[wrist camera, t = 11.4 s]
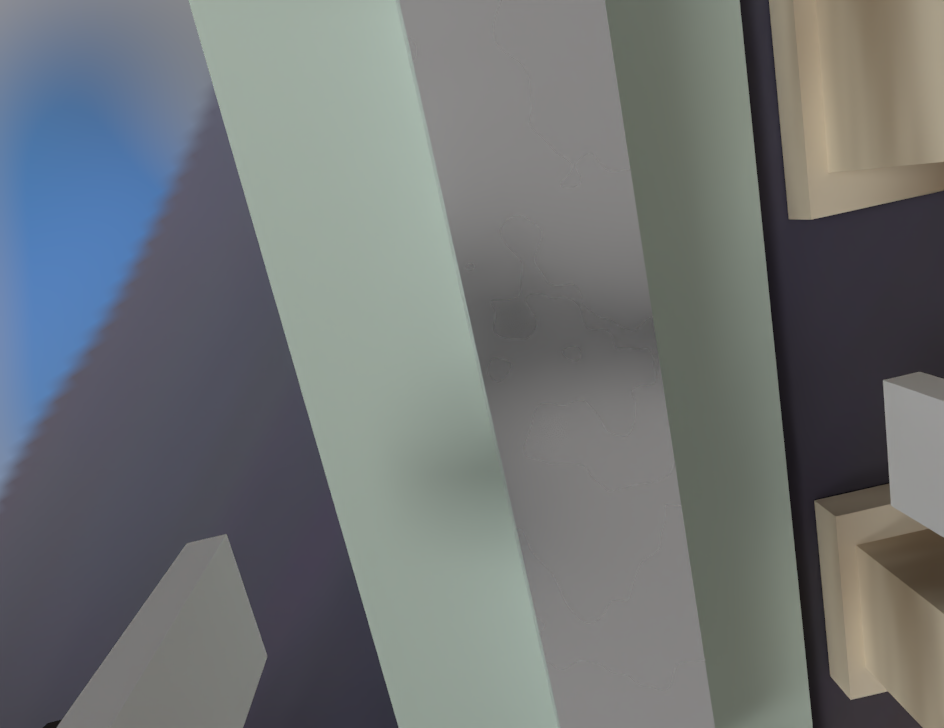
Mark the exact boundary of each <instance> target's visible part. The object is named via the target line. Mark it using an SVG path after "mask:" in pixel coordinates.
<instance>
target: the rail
mask: <svg viewBox="0 0 944 728" xmlns="http://www.w3.org/2000/svg"><path fill="white" fill-rule="evenodd" d="M395 2H396V6H397V11H398V15H399V20H400V24H401V29H402V33H403V38H404V42H405V47H406V51H407V55H408V60H409V64H410V69H411V73H412V78H413V82H414V87H415V91H416V96H417V100H418V105H419V109H420V114H421V118H422V123H423V127H424V132H425V136H426V141H427V145H428V150H429V154H430V159H431V163H432V167H433V172H434V176H435V181H436V185H437V190H438V194H439V199H440V203H441V208H442V212H443V217H444V221H445V226H446V230H447V235H448V239H449V244H450V248H451V253H452V257H453V262H454V266H455V271H456V275H457V279H458V284H459V288H460V293H461V297H462V302H463V306H464V311H465V315H466V320H467V324H468V329H469V333H470V338H471V342H472V347H473V351H474V356H475V360H476V365H477V369H478V374H479V378H480V383H481V387H482V391H483V396H484V400H485V405H486V409H487V414H488V418H489V423H490V427H491V432H492V436H493V441H494V445H495V450H496V454H497V459H498V463H499V468H500V472H501V477H502V481H503V486H504V490H505V495H506V499H507V503H508V508H509V512H510V517H511V521H512V526H513V530H514V535H515V539H516V544H517V548H518V553H519V557H520V562H521V566H522V571H523V575H524V580H525V584H526V589H527V593H528V598H529V602H530V607H531V611H532V615H533V620H534V624H535V629H536V633H537V638H538V642H539V647H540V651H541V656H542V660H543V665H544V669H545V674H546V678H547V683H548V687H549V692H550V696H551V701H552V705H553V710H554V714H555V719H556V723H557V727H558V728H715V724H714V718H713V711H712V704H711V698H710V691H709V685H708V678H707V671H706V665H705V658H704V652H703V645H702V638H701V632H700V625H699V619H698V612H697V605H696V599H695V592H694V586H693V579H692V572H691V566H690V559H689V553H688V546H687V539H686V533H685V526H684V520H683V513H682V506H681V500H680V493H679V487H678V480H677V473H676V467H675V460H674V454H673V447H672V440H671V434H670V427H669V421H668V414H667V407H666V401H665V394H664V388H663V381H662V374H661V368H660V361H659V355H658V348H657V341H656V335H655V328H654V322H653V315H652V308H651V302H650V295H649V289H648V282H647V275H646V269H645V262H644V256H643V249H642V242H641V236H640V229H639V223H638V216H637V209H636V203H635V196H634V190H633V183H632V176H631V170H630V163H629V157H628V150H627V143H626V137H625V130H624V124H623V117H622V110H621V104H620V97H619V91H618V84H617V77H616V71H615V64H614V58H613V51H612V44H611V38H610V31H609V25H608V18H607V11H606V5H605V0H395Z"/></svg>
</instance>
